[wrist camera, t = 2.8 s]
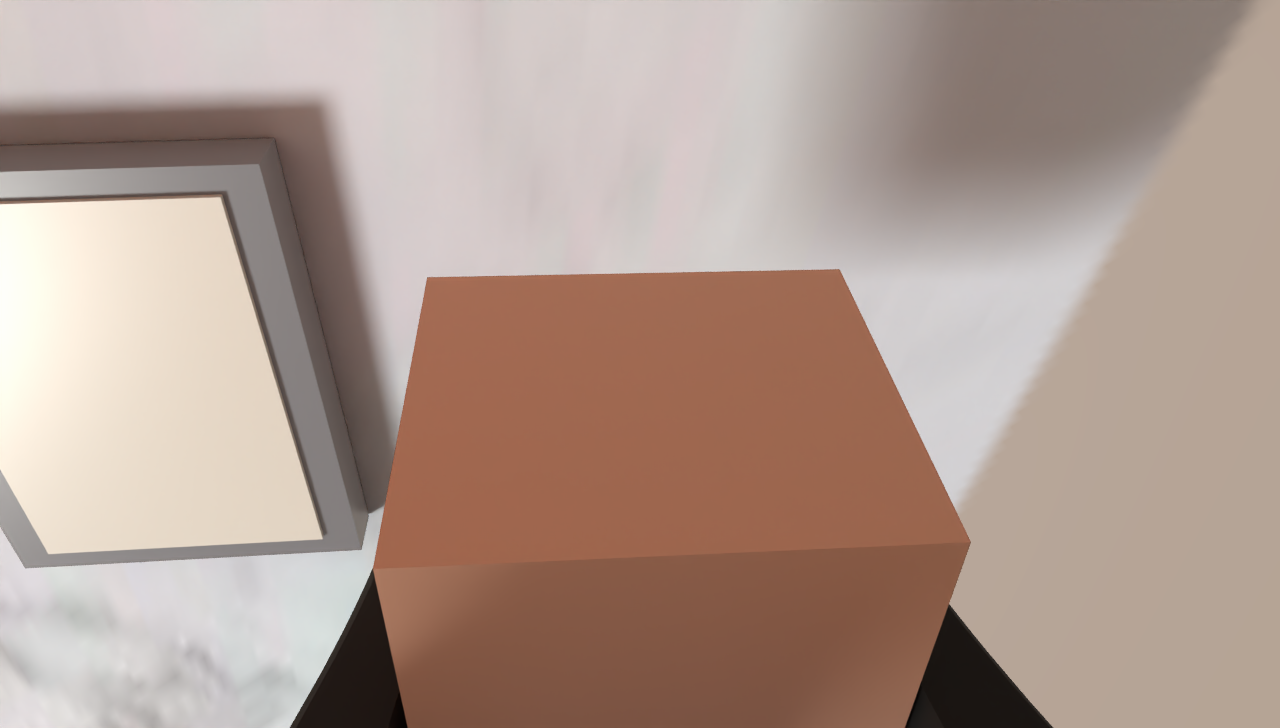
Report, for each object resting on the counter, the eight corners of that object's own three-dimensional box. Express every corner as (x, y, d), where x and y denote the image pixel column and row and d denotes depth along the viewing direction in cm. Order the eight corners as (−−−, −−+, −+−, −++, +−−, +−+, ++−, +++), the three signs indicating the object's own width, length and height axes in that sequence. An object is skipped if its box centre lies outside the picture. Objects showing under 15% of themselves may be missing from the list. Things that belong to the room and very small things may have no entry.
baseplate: (368, 515, 21) (360, 553, 20) (45, 532, 20) (23, 571, 20) (274, 137, 15) (257, 166, 15) (-170, 150, 15) (-214, 180, 14)
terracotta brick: (769, 653, 15) (832, 931, 11) (477, 669, 14) (459, 961, 11) (839, 269, 10) (970, 542, 7) (427, 277, 10) (372, 570, 7)
